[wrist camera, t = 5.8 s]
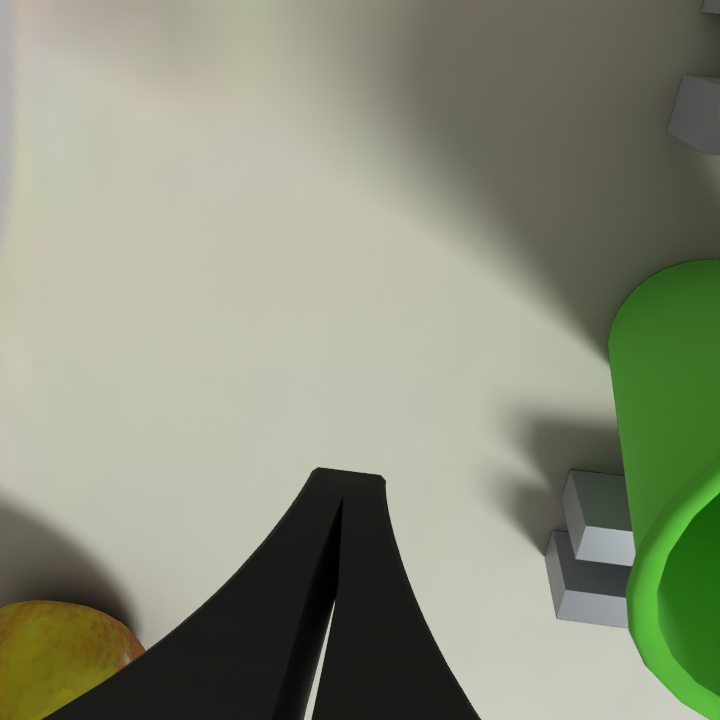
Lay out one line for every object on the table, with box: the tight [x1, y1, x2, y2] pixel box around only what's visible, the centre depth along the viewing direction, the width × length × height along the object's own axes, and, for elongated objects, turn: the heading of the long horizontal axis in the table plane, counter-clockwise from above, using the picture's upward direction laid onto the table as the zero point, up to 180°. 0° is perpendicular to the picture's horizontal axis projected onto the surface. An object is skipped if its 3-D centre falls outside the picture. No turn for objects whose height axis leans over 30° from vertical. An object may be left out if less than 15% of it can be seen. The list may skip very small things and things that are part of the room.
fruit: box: [0, 600, 145, 720], centre depth 28 cm, size 10×9×8 cm
